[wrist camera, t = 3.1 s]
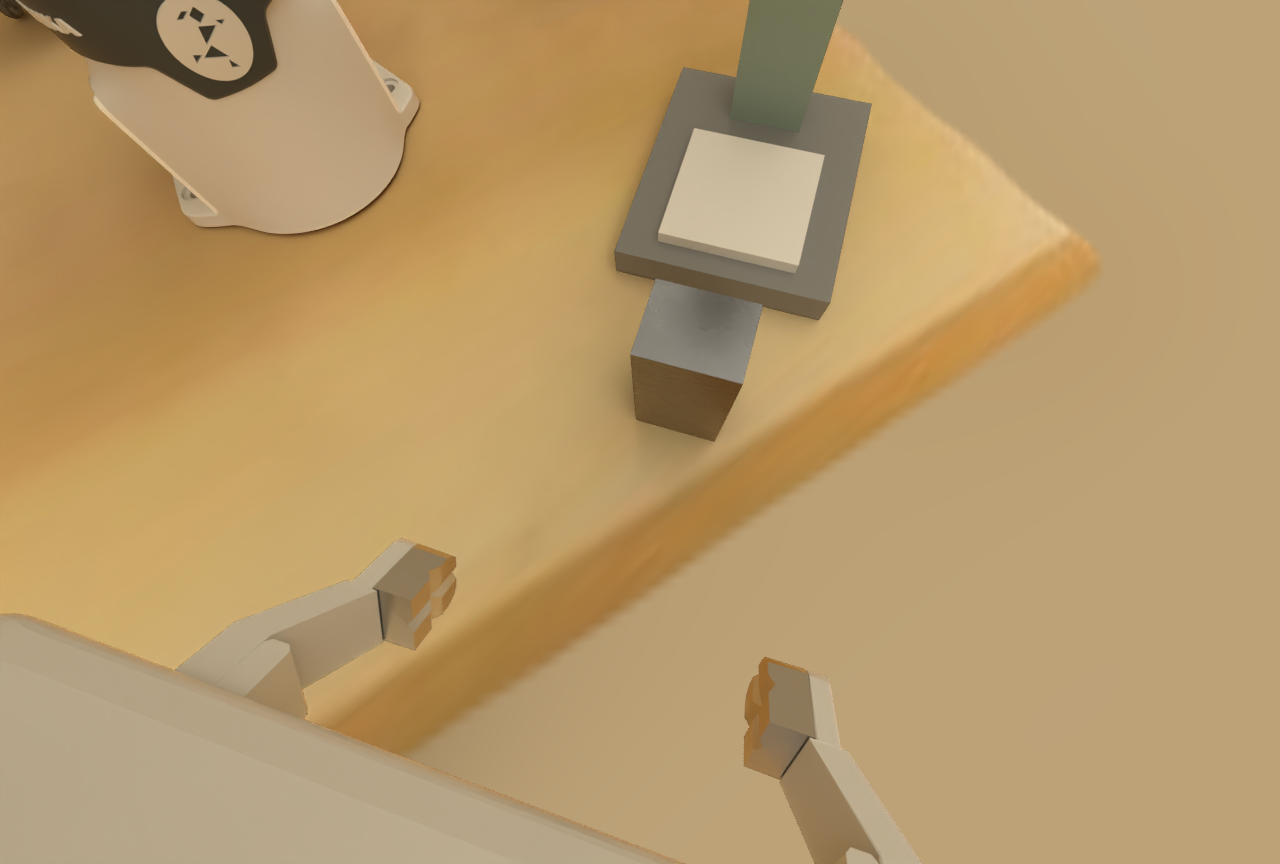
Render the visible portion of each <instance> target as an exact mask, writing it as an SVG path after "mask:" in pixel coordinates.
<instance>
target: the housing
mask: <svg viewBox="0 0 1280 864" xmlns="http://www.w3.org/2000/svg"><path fill="white" fill-rule="evenodd" d="M762 307H763V305H762V304H758V303H754V302H750V301H746V300H742V299H738V298H733V297H729V296H725V295H721V294H717V293H713V292H709V291H705V290H701V289H697V288H693V287H689V286H684V285H680V284H676V283H672V282H668V281H664V280H660V279H656V280H655V283H654V286H653V289H652V292H651V295H650V297H649V300H648V303H647V306H646V309H645V312H644V315H643V318H642V321H641V324H640V327H639V330H638V333H637V336H636V339H635V342H634V345H633V348H632V351H631V354H630V356H631V367H632V378H633V389H634V400H635V411H636V420H639V421H642V422H646V423H650V424H653V425H657V426H660V427H664V428H667V429H671V430H675V431H678V432H682V433H685V434H689V435H693V436H696V437H700V438H703V439H707V440H710V441H714V442H715V440H716V438H717V436H718V434H719V432H720V430H721V428H722V425H723V423H724V421H725V419H726V417H727V415H728V413H729V411H730V409H731V407H732V405H733V403H734V401H735V399H736V397H737V395H738V393H739V391H740V389H741V387H742V385H743V381H744V378H745V374H746V370H747V366H748V362H749V358H750V354H751V350H752V346H753V342H754V338H755V334H756V331H757V327H758V323H759V319H760V315H761V311H762Z"/></svg>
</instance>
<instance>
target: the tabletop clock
mask: <svg viewBox="0 0 1280 864" xmlns="http://www.w3.org/2000/svg"><path fill="white" fill-rule="evenodd" d="M0 11H1V12H2V13H3V14H4V15H6V16H8V17H11V18H16V19H17V18H21V17H22V16H23V14H24V12H23V9H22V6H21V5H20V4H19V3H18V2H17V1H16V0H0Z"/></svg>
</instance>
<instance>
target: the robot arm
mask: <svg viewBox="0 0 1280 864" xmlns="http://www.w3.org/2000/svg"><path fill="white" fill-rule="evenodd" d="M16 1H17V2H18V3H19V4H20V5H21V6H22V7H23V8H24V9H25V10H26V11H27V12H29V13H30V14H31V15H32V16H33V17H34V18H35V19H36V20H38V21H39V22H41V23H43V24H44V25H45V26H47V27H48V28H49V29H50V30H51V31H52V32H54V33H55V34H56V35H57V36H58V37H59V38H60V39H61V40H62V41H63V42H65V43H66V44H67V45H68V46H69V47H70V48H71V49H73V50H74V51H75V52H77V53H78V54H80V55H82V56H84V58H85V60H86V63H87V66H88V70H89V84H90V86H91V89H92V90H93V92H94V94H95V95H94V98H93V101H94V103H95V104H96V105H97V106H98V108H99V109H100V110H101V111H102V112H103V113H104V114H105V115H106V116H107V117H108V118H110V119H111V120H112V121H113V122H114V123H115V124H116V125H117V126H118V127H120V128H121V129H122V130H123V131H124V132H125V133H126V134H127V135H128V136H129V137H131V138H132V139H133V140H134V141H135V142H136V143H137V144H138V145H139V146H141V147H142V148H143V149H144V150H145V151H146V152H147V153H148V154H150V155H151V156H152V157H153V158H154V159H155V160H156V161H157V162H158V163H160V164H161V165H162V166H163V167H164V168H165V169H166V170H167V171H169V172H170V173H171V174H172V176H173V180H174V184H175V188H176V192H177V196H178V200H179V204H180V208H181V210H182V212H183V213H184V214H185V215H186V216H187V217H188V218H189V219H190V220H191V221H192V222H193V223H194V224H196V225H197V226H201V227H218V226H229V225H239V226H244V227H248V228H251V229H255V230H258V231H262V232H268V233H277V234H293V233H303V232H308V231H313V230H317V229H321V228H324V227H327V226H330V225H333V224H335V223H338V222H340V221H342V220H344V219H346V218H348V217H350V216H352V215H353V214H355V213H357V212H358V211H360V210H361V209H363V208H364V207H365V206H367V205H368V204H369V203H370V202H372V201H373V200H374V199H375V198H376V197H377V196H378V195H379V194H380V193H381V192H382V191H383V190H384V189H385V187H386V186H387V185H388V183H389V182H390V181H391V179H392V178H393V176H394V174H395V172H396V171H397V168H398V166H399V164H400V161H401V158H402V154H403V147H404V136H405V131H406V128H407V126H408V125H409V123H410V122H411V120H412V119H413V117H414V115H415V114H416V112H417V110H418V107H419V99H418V98H417V96H416V94H415V93H414V91H413V89H412V88H411V87H410V86H409V85H408V84H407V83H405V82H404V81H402V80H401V79H400V78H398V77H397V76H395V75H394V74H392V73H391V72H390V71H388V70H387V69H385V68H384V67H382V66H381V65H380V64H378V63H377V62H375V61H374V60H372V59H371V58H370V57H369V55H368V53H367V51H366V50H365V48H364V46H363V45H362V43H361V41H360V39H359V38H358V36H357V34H356V33H355V31H354V29H353V28H352V26H351V24H350V22H349V21H348V19H347V17H346V16H345V14H344V12H343V11H342V9H341V7H340V5H339V4H338V2H337V0H16ZM455 567H456V557H454V556H451V555H449V554H446V553H443V552H440V551H437V550H435V549H432V548H429V547H426V546H423V545H421V544H418V543H415V542H412V541H409V540H406V539H403V538H401V539H398V540H396V541H394V542H393V543H392V544H391V545H390V546H389V547H388V548H387V549H386V550H385V551H384V552H383V553H382V554H381V555H379V556H378V557H377V558H376V559H375V560H374V561H373V562H372V563H371V564H370V565H369V566H368V567H367V568H366V569H365V570H364V571H363V572H362V573H360V574H359V575H358V576H357V577H356V578H355V579H354V580H353V581H352V582H351V581H348V580H345V581H343V582H340V583H337V584H335V585H332V586H329V587H327V588H324V589H321V590H319V591H316V592H313V593H311V594H308V595H305V596H303V597H300V598H297V599H294V600H292V601H289V602H286V603H284V604H281V605H278V606H276V607H273V608H270V609H268V610H265V611H262V612H260V613H257V614H254V615H252V616H249V617H246V618H244V619H241V620H238V621H236V622H233V623H232V624H231V625H230V626H228V627H227V628H226V629H225V630H224V631H222V632H221V633H220V634H219V635H217V636H216V637H215V638H214V639H212V640H211V641H210V642H209V643H208V644H206V645H205V646H204V647H203V648H201V649H200V650H199V651H198V652H196V653H195V654H194V655H193V656H191V657H190V658H189V659H188V660H187V661H185V662H184V663H183V664H182V665H180V666H179V667H178V668H177V669H175V670H172V669H170V668H167V667H164V666H162V665H159V664H156V663H154V662H151V661H149V660H146V659H143V658H141V657H138V656H135V655H133V654H130V653H127V652H125V651H122V650H120V649H117V648H114V647H112V646H109V645H106V644H104V643H101V642H98V641H96V640H93V639H91V638H88V637H85V636H83V635H80V634H77V633H75V632H72V631H69V630H67V629H64V628H62V627H59V626H57V625H54V624H51V623H49V622H46V621H44V620H41V619H38V618H35V617H32V616H29V615H24V614H3V615H0V864H685V863H682V862H679V861H677V860H674V859H671V858H669V857H666V856H663V855H661V854H658V853H656V852H653V851H650V850H647V849H645V848H643V847H640V846H637V845H635V844H632V843H629V842H627V841H624V840H621V839H619V838H616V837H613V836H611V835H608V834H605V833H603V832H600V831H598V830H595V829H592V828H590V827H587V826H585V825H582V824H579V823H576V822H574V821H571V820H569V819H566V818H563V817H561V816H558V815H556V814H553V813H550V812H547V811H545V810H542V809H540V808H537V807H534V806H531V805H529V804H526V803H524V802H521V801H519V800H516V799H513V798H511V797H508V796H505V795H503V794H500V793H497V792H495V791H492V790H489V789H487V788H484V787H482V786H479V785H476V784H474V783H471V782H468V781H466V780H463V779H461V778H458V777H455V776H452V775H450V774H447V773H445V772H442V771H439V770H437V769H434V768H431V767H429V766H426V765H423V764H421V763H418V762H415V761H413V760H410V759H408V758H405V757H402V756H400V755H397V754H394V753H392V752H389V751H386V750H384V749H381V748H379V747H376V746H373V745H371V744H368V743H365V742H363V741H360V740H357V739H355V738H352V737H349V736H347V735H344V734H342V733H339V732H336V731H334V730H331V729H328V728H326V727H323V726H320V725H318V724H315V723H312V722H310V721H307V720H305V719H303V718H304V717H305V716H306V715H307V704H306V701H305V697H304V694H303V690H302V689H304V688H306V687H307V686H309V685H311V684H313V683H314V682H316V681H318V680H319V679H321V678H323V677H325V676H326V675H328V674H330V673H331V672H333V671H335V670H337V669H338V668H340V667H342V666H343V665H345V664H347V663H349V662H350V661H352V660H354V659H356V658H357V657H359V656H361V655H362V654H364V653H366V652H368V651H369V650H371V649H373V648H374V647H376V646H378V645H380V644H381V643H383V641H387V642H390V643H393V644H396V645H399V646H402V647H405V648H409V649H412V650H416V648H417V647H418V646H419V644H420V643H421V642H422V640H423V639H424V638H425V636H426V635H427V634H428V632H429V631H430V630H431V619H433V618H435V617H437V616H439V615H442V614H443V612H444V611H445V610H446V608H447V607H448V605H449V604H450V602H451V600H452V597H453V595H454V593H455V588H456V578H455V576H454V575H453V573H452V571H453V570H454V569H455ZM745 719H746V721H747V723H748V725H749V728H748V730H747V732H746V734H745V736H744V766H745V767H748V768H750V769H753V770H755V771H758V772H761V773H763V774H766V775H768V776H771V777H774V778H776V779H779V780H780V785H781V787H782V789H783V791H784V794H785V796H786V798H787V801H788V803H789V805H790V808H791V810H792V812H793V814H794V817H795V819H796V821H797V824H798V826H799V828H800V830H801V833H802V835H803V837H804V840H805V842H806V844H807V847H808V849H809V851H810V853H811V856H812V858H813V860H814V863H815V864H922V863H921V861H920V860H919V858H918V857H917V855H916V854H915V852H914V851H913V849H912V848H911V846H910V845H909V843H908V842H907V840H906V839H905V837H904V836H903V834H902V833H901V831H900V830H899V828H898V827H897V825H896V824H895V822H894V821H893V819H892V817H891V816H890V814H889V813H888V811H887V810H886V808H885V807H884V805H883V804H882V802H881V801H880V799H879V798H878V796H877V795H876V793H875V792H874V790H873V789H872V787H871V785H870V784H869V782H868V781H867V779H866V778H865V776H864V775H863V773H862V772H861V770H860V769H859V767H858V766H857V764H856V763H855V761H854V760H853V758H852V757H851V755H850V754H849V752H848V751H847V750H845V749H842V748H841V746H840V740H839V733H838V727H837V721H836V715H835V708H834V702H833V696H832V690H831V684H830V681H829V679H828V677H826V676H823V675H820V674H817V673H814V672H811V671H808V670H805V669H803V668H799V667H796V666H793V665H790V664H787V663H783V662H780V661H777V660H773V659H771V658H767V657H764V658H763V659H762V660H761V662H760V664H759V675H756V676H754V677H753V678H752V680H751V682H750V685H749V687H748V691H747V695H746V701H745Z"/></svg>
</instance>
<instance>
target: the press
mask: <svg viewBox="0 0 1280 864" xmlns="http://www.w3.org/2000/svg"><path fill="white" fill-rule="evenodd" d="M842 3H843V0H750V3H749V8H748V14H747V20H746V26H745V31H744V37H743V43H742V49H741V54H740V60H739V66H738V71H737V77H731V76H726V75H721V74H716V73H711V72H706V71H701V70H695V69H690V68H685V67H683V69H682V72H681V74H680V77H679V80H678V82H677V85H676V88H675V90H674V93H673V96H672V98H671V101H670V104H669V106H668V109H667V112H666V114H665V117H664V120H663V123H662V125H661V128H660V131H659V133H658V136H657V139H656V141H655V144H654V147H653V149H652V152H651V155H650V157H649V160H648V163H647V165H646V168H645V171H644V173H643V176H642V179H641V181H640V184H639V187H638V189H637V192H636V195H635V197H634V200H633V203H632V205H631V208H630V211H629V213H628V216H627V219H626V221H625V224H624V227H623V230H622V232H621V235H620V238H619V240H618V243H617V246H616V248H615V260H616V270H617V271H621V272H625V273H630V274H634V275H638V276H642V277H646V278H650V279H654V280H656V279H660V280H664V281H668V282H672V283H676V284H680V285H684V286H689V287H693V288H697V289H701V290H705V291H709V292H713V293H717V294H721V295H725V296H729V297H733V298H738V299H742V300H746V301H750V302H754V303H758V304H762V305H763V306H764V307H768V308H772V309H776V310H780V311H784V312H788V313H792V314H797V315H801V316H805V317H809V318H813V319H817V320H819V319H820V317H821V316H822V314H823V313H824V311H825V310H826V308H827V307H828V305H829V304H830V301H831V296H832V292H833V287H834V282H835V277H836V273H837V268H838V263H839V258H840V253H841V249H842V244H843V239H844V234H845V229H846V225H847V220H848V215H849V210H850V205H851V201H852V196H853V191H854V186H855V181H856V177H857V172H858V167H859V162H860V157H861V153H862V148H863V143H864V138H865V133H866V129H867V124H868V119H869V114H870V109H871V105H872V104H870V103H865V102H859V101H854V100H849V99H844V98H839V97H834V96H829V95H824V94H818V93H813V92H812V91H813V88H814V86H815V83H816V80H817V77H818V74H819V71H820V68H821V65H822V62H823V59H824V56H825V53H826V50H827V47H828V44H829V41H830V38H831V35H832V32H833V29H834V26H835V23H836V20H837V17H838V14H839V12H840V9H841V6H842Z"/></svg>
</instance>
